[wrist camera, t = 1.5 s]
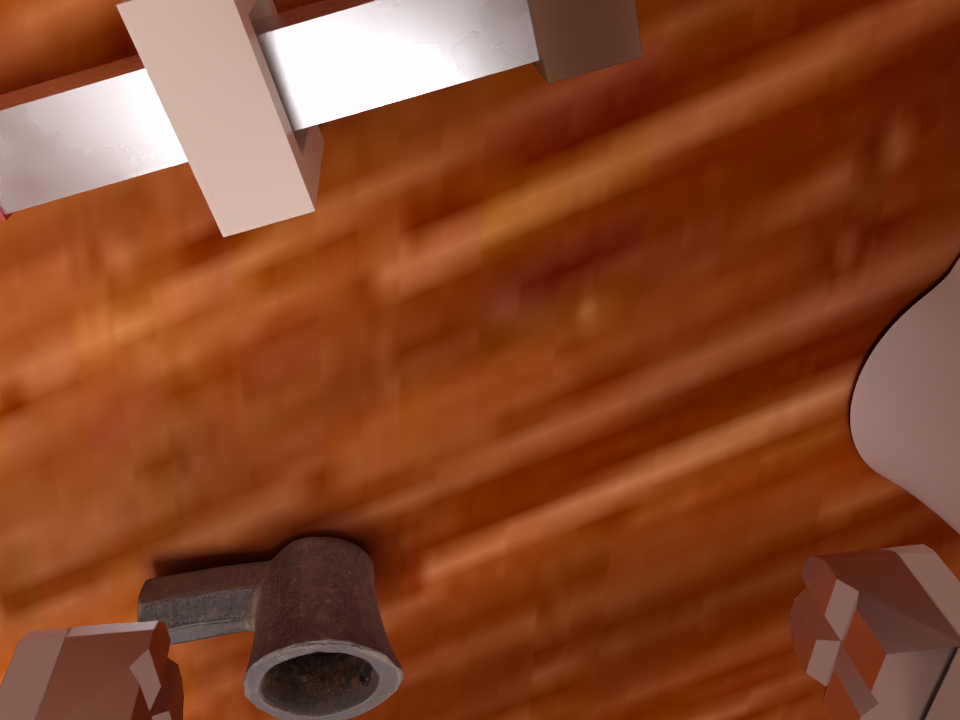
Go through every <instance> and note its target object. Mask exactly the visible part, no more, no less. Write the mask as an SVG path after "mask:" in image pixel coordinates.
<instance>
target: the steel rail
mask: <svg viewBox="0 0 960 720" xmlns="http://www.w3.org/2000/svg"><path fill="white" fill-rule="evenodd" d="M251 24H252V26H253V29H254V32H255V34H256V37H257V39H258V42H259V45H260V47H261V50H262V53H263V55H264V58H265V60H266V63H267V66H268V68H269V71H270V74H271V76H272V79H273V81H274V84H275V87H276V89H277V92H278V94H279V97H280V100H281V102H282V105H283V108H284V110H285V113H286V115H287V118H288V121H289V123H290V126H291V129H292V131H296V130H300V129H303V128H307V127H310V126H314V125H317V124H320V123H324V122H327V121H331V120H334V119H338V118H341V117H345V116H348V115H352V114H355V113H359V112H362V111H366V110H369V109H372V108H376V107H379V106H383V105H386V104H390V103H393V102H397V101H400V100H404V99H407V98H411V97H414V96H418V95H421V94H424V93H428V92H431V91H435V90H438V89H442V88H445V87H449V86H452V85H456V84H459V83H463V82H466V81H470V80H473V79H477V78H480V77H483V76H487V75H490V74H494V73H497V72H501V71H504V70H508V69H511V68H515V67H518V66H522V65H525V64H529V63H532V62H535V61H539V57H538V52H537V47H536V42H535V37H534V32H533V28H532V23H531V18H530V13H529V8H528V3H527V0H322V1H319V2H315V3H312V4H309V5H305V6H302V7H298V8H295V9H292V10H288V11H285V12H281V13H278V14H275V15H271V16H268V17H264V18H261V19H257V20H254V21H251ZM185 162H188V160H187V158H186V156H185V153H184V151H183V149H182V147H181V145H180V143H179V140H178V138H177V136H176V134H175V132H174V130H173V127H172V125H171V123H170V121H169V119H168V117H167V114H166V112H165V110H164V108H163V106H162V104H161V101H160V99H159V97H158V95H157V93H156V91H155V88H154V86H153V84H152V82H151V80H150V78H149V75H148V73H147V71H146V69H145V67H144V65H143V62H142V60H141V58H140V56H139V54H138V55H135V56H131V57H128V58H125V59H121V60H118V61H114V62H111V63H108V64H104V65H101V66H97V67H94V68H90V69H87V70H84V71H80V72H77V73H73V74H70V75H67V76H63V77H60V78H56V79H53V80H50V81H46V82H43V83H39V84H36V85H33V86H29V87H26V88H22V89H19V90H16V91H12V92H9V93H5V94H2V95H0V222H2V221H6V220H7V219H8V218H9V217H10V216H11V215H12V213H13V212H15V211H19V210H22V209H26V208H29V207H33V206H36V205H40V204H43V203H46V202H50V201H53V200H57V199H60V198H64V197H67V196H71V195H74V194H78V193H81V192H85V191H88V190H92V189H95V188H98V187H102V186H105V185H109V184H112V183H116V182H119V181H123V180H126V179H130V178H133V177H137V176H140V175H144V174H147V173H150V172H154V171H157V170H161V169H164V168H168V167H171V166H175V165H178V164H182V163H185Z"/></svg>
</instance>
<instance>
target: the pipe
mask: <svg viewBox="0 0 960 720" xmlns="http://www.w3.org/2000/svg"><path fill="white" fill-rule="evenodd" d="M148 621H163V622H165V624H166V627H167V630H168V633H169V636H170V639H171V641H170V645H172V644H178V643H184V642H189V641H195V640H200V639H206V638H211V637H216V636H221V635H226V634H232V633H238V632H249V631H255V632H254V642H253V647H252V651H251V656H250V660H249V664H248V667H247V670H246V673H245V676H244V680H243V685H244V691H243V692H244V694H245V696H246V697H247V698H248V699H249V701H250V702H251V703H252V704H254V705H255V706H256V707H257V708H259V709H261V710H263V711H264V712H266V713H268V714H270V715H272V716H274V717H276V718H279V719H283V720H345V719H349V718H353V717H356V716H358V715H361V714H363V713H365V712H367V711H369V710H370V709H372V708H374V707H375V706H377V705H379V704H380V703H382V702H383V701H384V700H386V699H387V698H388V697H389V696H391V695H392V694H393V693H394V692H395V691H396V690H397V688H398V686H399V685H400V683H401V682H402V678H403V670H402V666H401V665H400V663H399V661H398V659H397V658H396V656H395V654H394V652H393V650H392V648H391V646H390V643H389V640H388V638H387V635H386V632H385V629H384V626H383V623H382V620H381V616H380V612H379V609H378V605H377V599H376V593H375V586H374V567H373V562H372V560H371V559H370V557H369V556H368V555H367V554H366V553H365V551H364V550H363V549H362V548H360V547H359V546H357V545H355V544H353V543H351V542H348V541H346V540H343V539H340V538H333V537H306V538H302V539H299V540H295V541H292V542H291V543H289V544H288V545H287V546H286V547H284V548H283V549H282V550H281V551H280V552H279V553H278V554H277V555H276V556H275V557H274V558H273V559H272V560H270V561H261V562H250V563H242V564H235V565H229V566H221V567H215V568H209V569H204V570H197V571H191V572H186V573H180V574H174V575H170V576H164V577H158V578H153V579H149V580H146V582H145V583H144V585H143V587H142V589H141V592H140V595H139V597H138V609H137V622H148Z"/></svg>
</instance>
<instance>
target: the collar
mask: <svg viewBox="0 0 960 720" xmlns="http://www.w3.org/2000/svg"><path fill="white" fill-rule="evenodd" d="M116 6H117V8H118V10H119V13H120V15H121V17H122V19H123V21H124V23H125V26H126V28H127V30H128V32H129V34H130V36H131V39H132V41H133V43H134V45H135V47H136V49H137V52H138V54H139V56H140V58H141V60H142V62H143V65H144V67H145V69H146V71H147V73H148V75H149V78H150V80H151V82H152V84H153V86H154V88H155V91H156V93H157V95H158V97H159V99H160V101H161V104H162V106H163V108H164V110H165V112H166V114H167V117H168V119H169V121H170V123H171V125H172V127H173V130H174V132H175V134H176V136H177V138H178V140H179V143H180V145H181V147H182V149H183V151H184V153H185V156H186V158H187V160H188V162H189V164H190V166H191V169H192V171H193V173H194V175H195V177H196V179H197V182H198V184H199V186H200V188H201V190H202V192H203V195H204V197H205V199H206V201H207V203H208V205H209V208H210V210H211V212H212V214H213V216H214V218H215V220H216V223H217V225H218V227H219V229H220V231H221V233H222V236H223V237H226V236H230V235H233V234H237V233H240V232H244V231H247V230H251V229H254V228H258V227H261V226H265V225H268V224H272V223H275V222H279V221H282V220H286V219H289V218H293V217H296V216H300V215H303V214H307V213H310V212H314V211H315V209H316V201H317V193H318V185H319V177H320V169H321V161H322V153H323V145H324V140H323V137H322V134H321V132H320V129H319V126H318V124H317V125H314V126H310V127H307V128H303V129H300V130H296V131H292V129H291V126H290V123H289V121H288V118H287V115H286V113H285V110H284V108H283V105H282V102H281V100H280V97H279V94H278V92H277V89H276V87H275V84H274V81H273V79H272V76H271V74H270V71H269V68H268V66H267V63H266V60H265V58H264V55H263V53H262V50H261V47H260V45H259V42H258V39H257V37H256V34H255V32H254V29H253V26H252V24H251V21H254V20H257V19H261V18H264V17H268V16H271V15H275V14H278V13H277V10H276V7H275V4H274V2H273V0H123V1H121V2H120V3H118V4H117V5H116Z"/></svg>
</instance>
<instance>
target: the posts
mask: <svg viewBox="0 0 960 720" xmlns="http://www.w3.org/2000/svg"><path fill="white" fill-rule="evenodd" d="M527 3H528V8H529V13H530V18H531V23H532V28H533V32H534V37H535V42H536V47H537V52H538V57H539V61H535V62H532V63H533V64H534V65H535V67H536V68H537V70H538V71H539V72H540V74H541V75H542V76H543V78H544V79H545V80H546V82H547V83H548V84H550V83H554V82H557V81H561V80H564V79H568V78H571V77H575V76H578V75H582V74H585V73H589V72H592V71H596V70H599V69H603V68H606V67H610V66H613V65H617V64H620V63H624V62H627V61H630V60H634V59H637V58H641V57H643V56H642V48H641V41H640V34H639V26H638V19H637V11H636V4H635V0H527Z"/></svg>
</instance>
